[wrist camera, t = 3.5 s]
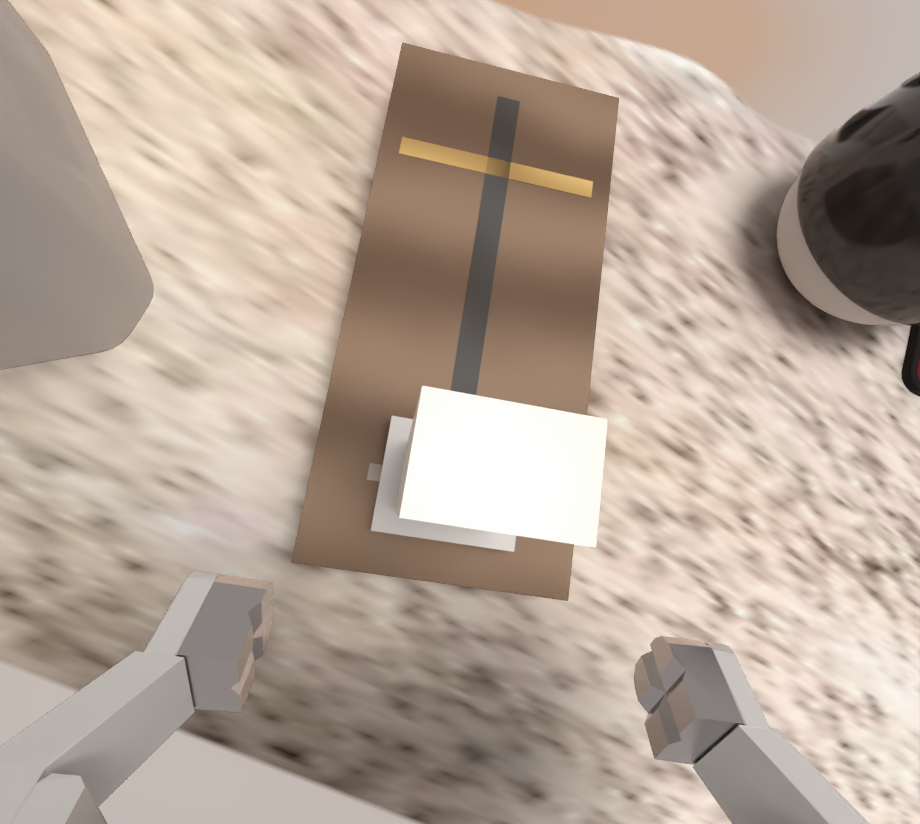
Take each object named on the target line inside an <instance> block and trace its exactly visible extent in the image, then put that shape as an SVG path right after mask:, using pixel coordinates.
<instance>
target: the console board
mask: <svg viewBox="0 0 920 824" xmlns="http://www.w3.org/2000/svg"><path fill="white" fill-rule="evenodd" d="M618 103H619V98H617V97H613V96H609V95H605V94H601V93H597V92H593V91H589V90H586V89H582V88H578V87H574V86H570V85H566V84H562V83H558V82H554V81H550V80H547V79H543V78H539V77H535V76H531V75H527V74H523V73H519V72H515V71H511V70H508V69H504V68H500V67H496V66H492V65H488V64H484V63H480V62H476V61H472V60H468V59H465V58H461V57H457V56H453V55H449V54H445V53H441V52H437V51H433V50H429V49H426V48H422V47H418V46H414V45H410V44H406V43H402V46H401V51H400V56H399V60H398V65H397V70H396V75H395V79H394V84H393V89H392V93H391V98H390V103H389V107H388V112H387V117H386V121H385V126H384V131H383V136H382V140H381V145H380V150H379V154H378V159H377V164H376V168H375V173H374V178H373V182H372V187H371V192H370V197H369V201H368V206H367V211H366V215H365V220H364V225H363V229H362V234H361V239H360V243H359V248H358V253H357V257H356V262H355V267H354V272H353V276H352V281H351V286H350V290H349V295H348V300H347V304H346V309H345V314H344V318H343V323H342V328H341V333H340V337H339V342H338V347H337V351H336V356H335V361H334V365H333V370H332V375H331V379H330V384H329V389H328V393H327V398H326V403H325V408H324V412H323V417H322V422H321V426H320V431H319V436H318V440H317V445H316V450H315V454H314V459H313V464H312V469H311V473H310V478H309V483H308V487H307V492H306V497H305V501H304V506H303V511H302V515H301V520H300V525H299V530H298V534H297V539H296V544H295V548H294V553H293V558H292V563H299V564H307V565H314V566H321V567H328V568H335V569H342V570H350V571H357V572H364V573H371V574H378V575H386V576H393V577H400V578H407V579H414V580H422V581H429V582H436V583H443V584H450V585H458V586H465V587H472V588H479V589H486V590H494V591H501V592H508V593H515V594H522V595H529V596H537V597H544V598H551V599H558V600H565V601H568V597H569V587H570V577H571V567H572V557H573V547H574V544H569V543H562V542H556V541H549V540H543V539H536V538H529V537H523V536H516V541H515V549H514V552H511V551H504V550H498V549H491V548H484V547H477V546H471V545H464V544H457V543H451V542H444V541H437V540H430V539H424V538H417V537H410V536H403V535H397V534H390V533H383V532H376V531H371V526H372V521H373V515H374V510H375V504H376V499H377V493H378V488H379V482H380V477H381V472H382V466H383V461H384V455H385V450H386V444H387V439H388V434H389V428H390V423H391V417H392V416H397V417H403V418H409V419H413V418H414V415H415V411H416V407H417V403H418V399H419V396H420V392H421V388H422V386H428V387H433V388H439V389H444V390H450V391H455V392H461V393H466V394H472V395H477V396H483V397H488V398H494V399H499V400H505V401H510V402H516V403H521V404H527V405H532V406H538V407H543V408H549V409H554V410H560V411H565V412H571V413H576V414H582V415H587V409H588V399H589V389H590V380H591V370H592V360H593V350H594V340H595V330H596V320H597V310H598V301H599V291H600V281H601V271H602V261H603V251H604V241H605V232H606V222H607V212H608V202H609V192H610V182H611V172H612V162H613V153H614V143H615V133H616V123H617V113H618Z"/></svg>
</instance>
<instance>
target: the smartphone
mask: <svg viewBox="0 0 920 824" xmlns="http://www.w3.org/2000/svg"><path fill="white" fill-rule="evenodd" d="M902 379H903V382H904V384H905V386H906V387H907V388H908V389H909V390H910V391H911V392H912V393H914V394H916V395H918V396H920V326H912V327H911V331H910V336H909V341H908V345H907V350H906V355H905V359H904V364H903V369H902Z"/></svg>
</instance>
